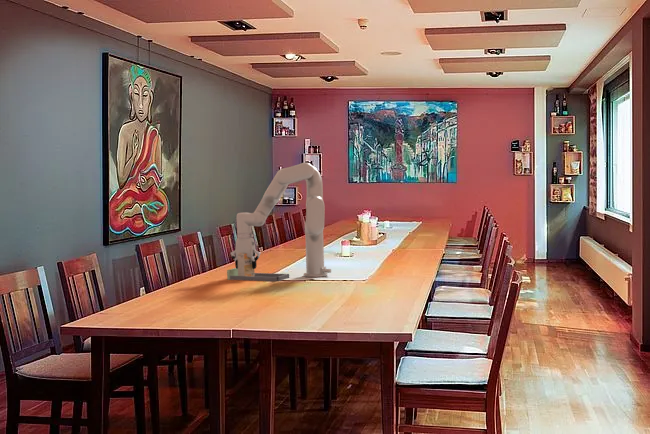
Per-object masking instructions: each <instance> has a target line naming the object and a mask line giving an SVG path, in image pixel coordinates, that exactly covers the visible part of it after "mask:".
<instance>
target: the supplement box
mask: <svg viewBox="0 0 650 434" xmlns="http://www.w3.org/2000/svg"><path fill="white" fill-rule="evenodd" d="M252 261H253V260H252V259H251V258H247V254H238V276H255V273H256V272H255V269H252Z"/></svg>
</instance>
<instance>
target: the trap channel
mask: <svg viewBox="0 0 650 434" xmlns="http://www.w3.org/2000/svg"><path fill="white" fill-rule="evenodd" d="M226 275H227V277H226V279H227V281H229V280H231V281H253V282H254V281H256V282H257V281H259V282H262V281H263V282H280V281H284V280H286V279H289V278H290V274H289V273H275V272H274V273H271V272H270V273H267V272H266V273H265V272H263V273H262V272H255V276H238V269H236V267H235V268H230V269H227V270H226Z"/></svg>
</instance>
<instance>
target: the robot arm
mask: <svg viewBox="0 0 650 434" xmlns="http://www.w3.org/2000/svg"><path fill="white" fill-rule="evenodd" d="M301 181H305V183H306V197H305V198H306V201H305V208H306V209H305V211H306V212H305V222H304V234H305V235H304V236H305V237H304V239H305V263H306V264H305V266H306V267H305V268H306V269H305V271H306V272H304V273H303V276H304V277H306V278H318V277H319V278H320V277H326V276H327V277H328V273H329V274H331V273H332V269H331V268H327V266H325V250H324V249H325V248H324V229H325V215H326V214H325V211H326V210H325V208H326V207H325V205H326V204H325V202H324V191H323V190H324V189H323V188H324V187H323V186H324V185H323V178H322V175H321V173H320V172H319V170H318V169H317V168H316V167H315V166H314V165H312V164H311V163H309V162H302V163H299V164H298V163H297V164H296V165H291V166H289V167H288V166H287V167H285V168H281V169H279V170H278V171H277V172H276V174H275V175H274V177H273V179H271V182H270V184H269V185H268V186H267V189H266V190H265V192H264V194H263V196H262V198H261V199H260V202H259V203H258V205H257V207H256V208H255V209H254V211H253V212H238V213H237V214H236V232H237V236H236V237H237V238H236V241H235V249H234V250H233V251H231V252H230V256H231V258H232V259H233V260H234V264H235V265H234V266H235V268H236V269H238V254H247V258H251V259H252V260H253V261H252V269H254V270H255V269H257V261H258V260H259V258H260V255H261V253H262V252H260V251H258V250H257V249H256V243H255V239H254V238H253V237H255V234H254V233H252V231H253V230H252V229H253V228H252V227H262V226H263V225H265V223H266V221H267V219H268V217H269V215H270V213H271V212H272V210H273V208H275V206H276V205H277V204H278V202H279V201H280V200H281V198H282V197H283V195H284V193H285V191H286V190H287V189H288V186H289V185H290V184H295V183H297V182H301Z"/></svg>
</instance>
